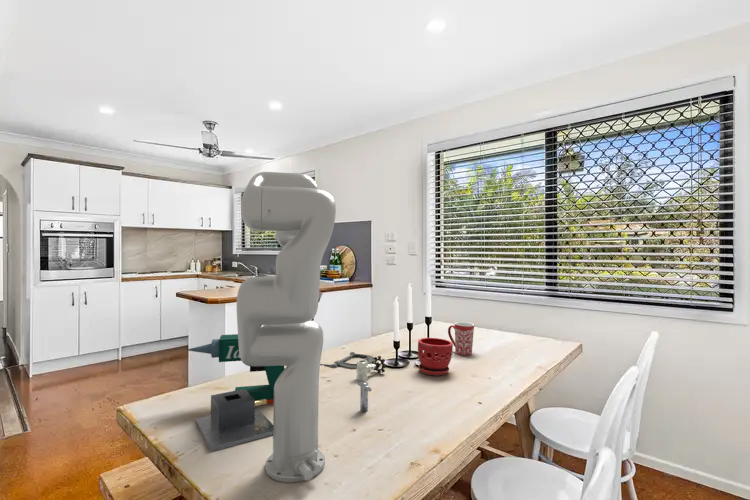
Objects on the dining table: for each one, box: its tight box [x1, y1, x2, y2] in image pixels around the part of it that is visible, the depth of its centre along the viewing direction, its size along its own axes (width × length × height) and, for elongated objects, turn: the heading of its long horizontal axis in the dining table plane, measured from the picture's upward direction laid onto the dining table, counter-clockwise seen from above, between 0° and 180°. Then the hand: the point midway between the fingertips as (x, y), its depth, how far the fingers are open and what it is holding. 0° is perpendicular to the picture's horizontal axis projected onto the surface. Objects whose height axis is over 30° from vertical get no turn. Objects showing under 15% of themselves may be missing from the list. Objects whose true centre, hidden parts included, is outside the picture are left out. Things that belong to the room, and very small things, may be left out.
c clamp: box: [320, 351, 375, 370], centre depth 161 cm, size 20×17×3 cm
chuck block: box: [195, 389, 273, 453], centre depth 102 cm, size 18×17×7 cm
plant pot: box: [417, 337, 454, 376], centre depth 150 cm, size 13×13×12 cm
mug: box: [447, 321, 475, 356], centre depth 178 cm, size 13×9×14 cm
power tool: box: [186, 333, 286, 405], centre depth 118 cm, size 32×7×20 cm, turn 105°
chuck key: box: [357, 381, 372, 413], centre depth 114 cm, size 6×2×8 cm, turn 34°
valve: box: [355, 355, 387, 382], centre depth 143 cm, size 7×7×12 cm
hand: (295, 321), depth 118 cm, fingers open, 9 cm apart
